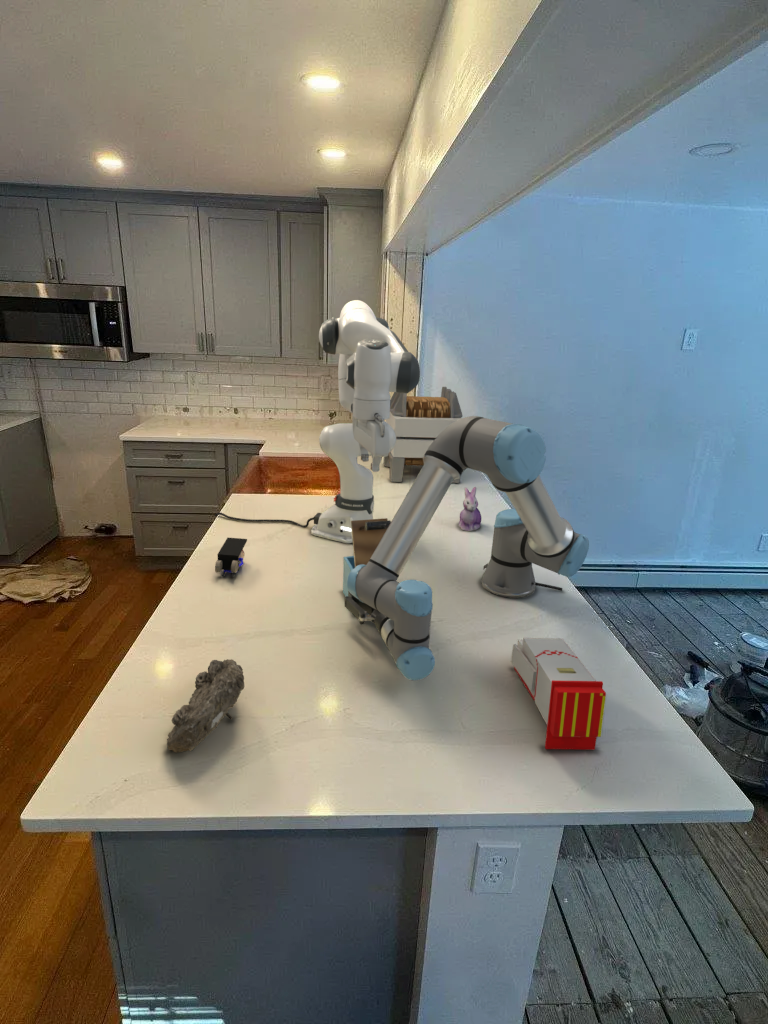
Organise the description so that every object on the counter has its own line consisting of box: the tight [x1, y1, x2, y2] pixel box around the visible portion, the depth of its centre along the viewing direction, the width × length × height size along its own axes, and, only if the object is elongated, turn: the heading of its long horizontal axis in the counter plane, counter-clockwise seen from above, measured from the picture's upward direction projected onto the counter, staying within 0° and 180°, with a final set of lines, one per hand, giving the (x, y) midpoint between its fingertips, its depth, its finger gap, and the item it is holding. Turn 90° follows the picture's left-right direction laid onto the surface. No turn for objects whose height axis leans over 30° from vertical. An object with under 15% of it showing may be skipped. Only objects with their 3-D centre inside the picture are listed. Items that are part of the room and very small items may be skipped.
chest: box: [342, 555, 369, 615], centre depth 151 cm, size 14×10×11 cm
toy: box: [510, 637, 607, 751], centre depth 115 cm, size 12×13×30 cm
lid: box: [351, 518, 392, 567], centre depth 140 cm, size 14×10×9 cm
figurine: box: [458, 486, 482, 532], centre depth 206 cm, size 9×10×15 cm
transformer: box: [383, 386, 463, 484], centre depth 268 cm, size 34×33×41 cm
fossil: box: [166, 658, 245, 754], centre depth 106 cm, size 22×10×15 cm
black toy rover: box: [214, 537, 248, 578], centre depth 166 cm, size 7×8×15 cm
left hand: (369, 465), depth 141 cm, fingers open, 8 cm apart
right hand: (369, 584), depth 148 cm, fingers closed on chest, 9 cm apart
